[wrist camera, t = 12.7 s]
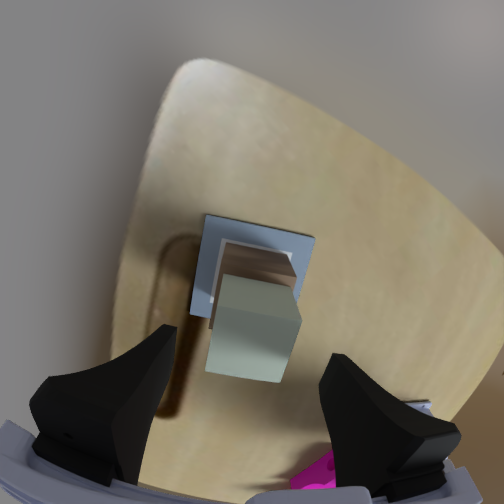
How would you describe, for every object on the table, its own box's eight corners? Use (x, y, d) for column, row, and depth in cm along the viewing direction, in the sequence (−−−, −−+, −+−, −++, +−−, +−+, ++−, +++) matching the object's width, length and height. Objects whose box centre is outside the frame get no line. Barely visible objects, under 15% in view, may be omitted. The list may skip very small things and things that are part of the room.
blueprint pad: (314, 237, 21) (315, 238, 21) (287, 330, 24) (287, 332, 23) (206, 214, 21) (206, 215, 20) (190, 312, 23) (189, 314, 23)
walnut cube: (287, 254, 21) (297, 277, 17) (272, 308, 23) (277, 340, 18) (225, 242, 21) (220, 262, 17) (215, 298, 22) (208, 328, 18)
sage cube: (290, 286, 17) (302, 320, 13) (273, 342, 18) (279, 382, 15) (223, 273, 17) (217, 305, 13) (212, 331, 18) (204, 370, 14)
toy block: (339, 442, 29) (352, 489, 22) (371, 448, 30) (386, 490, 23) (271, 490, 33) (274, 529, 26) (303, 495, 34) (309, 531, 27)
